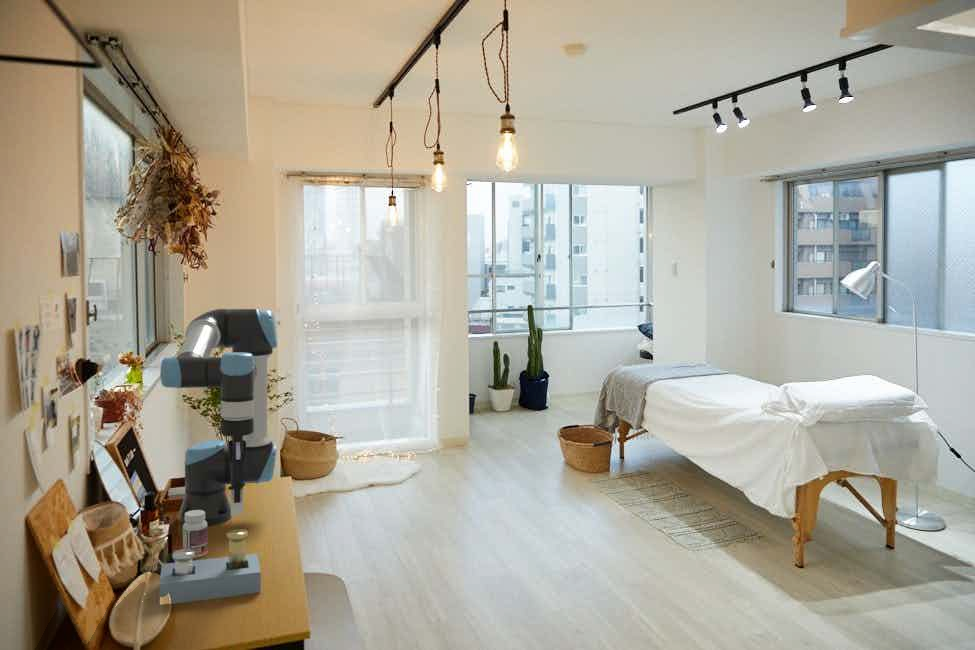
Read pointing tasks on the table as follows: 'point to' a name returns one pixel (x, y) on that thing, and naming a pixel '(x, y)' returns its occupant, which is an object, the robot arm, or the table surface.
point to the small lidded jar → (183, 561)
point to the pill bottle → (195, 532)
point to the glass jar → (237, 548)
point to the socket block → (210, 580)
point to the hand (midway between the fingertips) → (236, 514)
